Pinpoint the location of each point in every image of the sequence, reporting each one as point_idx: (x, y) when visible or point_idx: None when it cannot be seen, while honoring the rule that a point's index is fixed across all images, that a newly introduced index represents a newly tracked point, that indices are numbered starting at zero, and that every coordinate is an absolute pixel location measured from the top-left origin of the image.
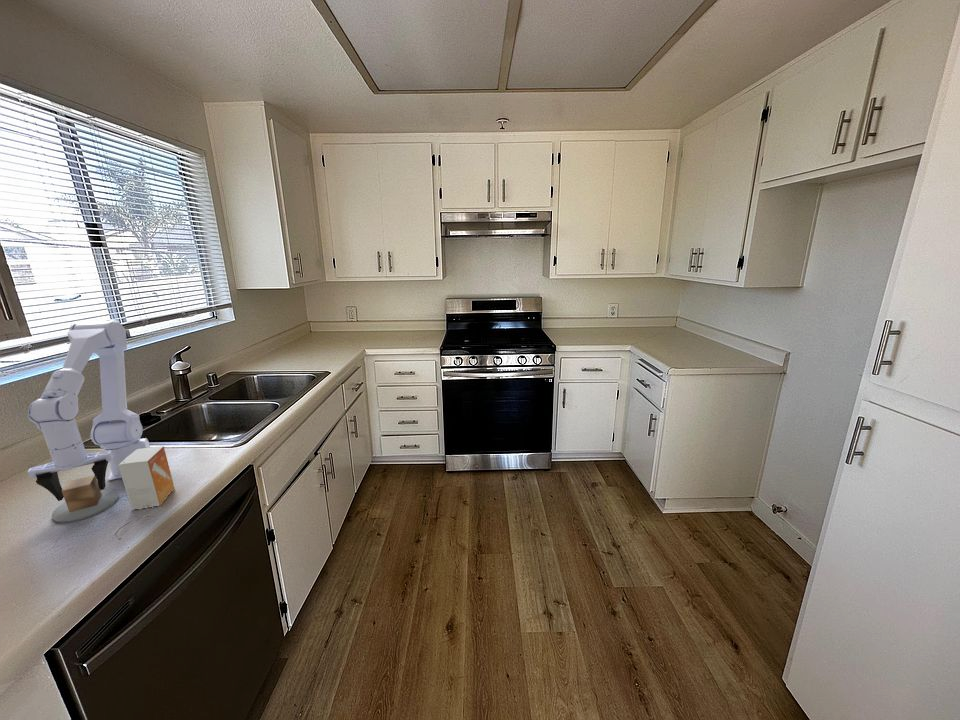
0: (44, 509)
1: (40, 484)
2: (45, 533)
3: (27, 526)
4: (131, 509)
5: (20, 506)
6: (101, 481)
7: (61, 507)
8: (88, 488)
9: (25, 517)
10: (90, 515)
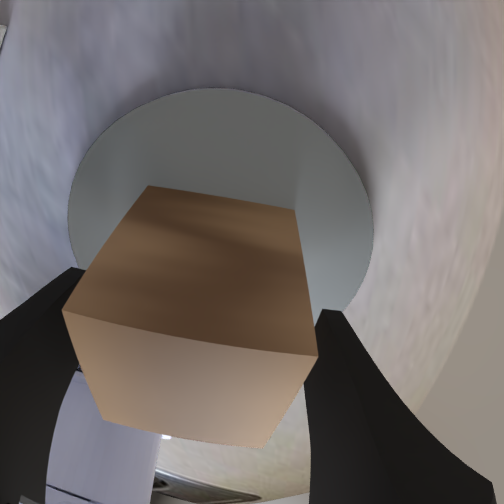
0: (371, 344)
1: (471, 476)
2: (409, 81)
3: (448, 244)
4: (2, 26)
5: (407, 394)
6: (18, 308)
7: (324, 301)
8: (99, 280)
9: (427, 326)
10: (182, 91)
